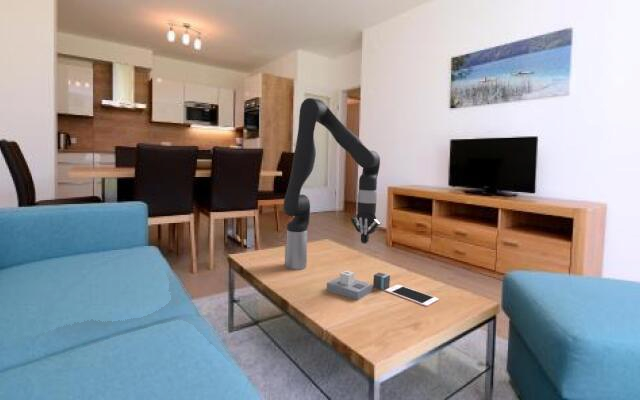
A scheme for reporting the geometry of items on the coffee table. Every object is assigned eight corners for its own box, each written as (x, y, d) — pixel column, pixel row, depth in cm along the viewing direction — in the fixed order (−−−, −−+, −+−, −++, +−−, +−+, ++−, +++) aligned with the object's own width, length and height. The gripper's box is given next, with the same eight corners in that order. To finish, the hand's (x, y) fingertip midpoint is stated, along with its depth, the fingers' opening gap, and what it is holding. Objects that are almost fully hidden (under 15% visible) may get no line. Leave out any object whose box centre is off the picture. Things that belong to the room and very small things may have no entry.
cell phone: (397, 286, 139) (397, 284, 139) (439, 301, 126) (439, 298, 126) (384, 292, 133) (384, 289, 133) (426, 308, 120) (426, 305, 120)
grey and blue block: (373, 287, 137) (373, 274, 136) (378, 284, 140) (378, 272, 139) (384, 290, 134) (384, 277, 133) (389, 287, 137) (390, 275, 136)
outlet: (326, 290, 132) (326, 282, 132) (341, 282, 140) (341, 275, 140) (357, 300, 124) (358, 291, 123) (371, 291, 132) (371, 284, 131)
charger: (339, 290, 132) (339, 272, 131) (345, 287, 135) (345, 270, 134) (348, 293, 130) (348, 275, 129) (353, 290, 133) (354, 272, 132)
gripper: (347, 199, 139) (345, 241, 141) (377, 203, 131) (374, 248, 133) (357, 198, 144) (355, 238, 147) (386, 202, 137) (383, 244, 139)
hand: (364, 243), depth 140 cm, fingers closed
